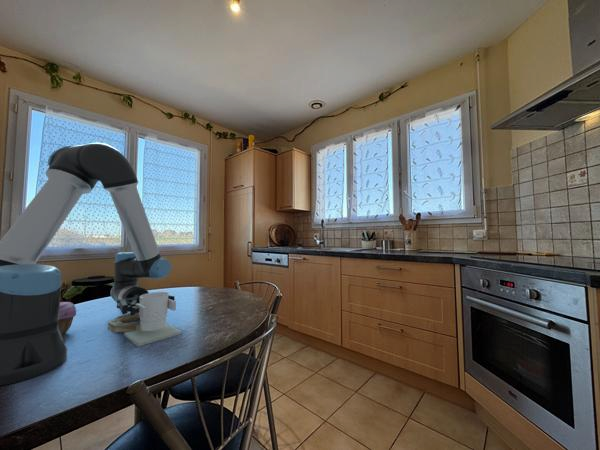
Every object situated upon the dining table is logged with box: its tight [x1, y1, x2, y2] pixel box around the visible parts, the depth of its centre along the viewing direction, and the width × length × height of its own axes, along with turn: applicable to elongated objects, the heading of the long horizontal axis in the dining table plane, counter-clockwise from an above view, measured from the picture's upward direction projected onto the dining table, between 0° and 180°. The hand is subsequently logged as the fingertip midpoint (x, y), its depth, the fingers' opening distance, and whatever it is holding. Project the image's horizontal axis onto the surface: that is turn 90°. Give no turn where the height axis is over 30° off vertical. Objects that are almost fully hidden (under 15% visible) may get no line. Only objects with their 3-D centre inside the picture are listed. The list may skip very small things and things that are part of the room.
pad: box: [123, 322, 182, 348], centre depth 77 cm, size 12×12×1 cm
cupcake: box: [59, 301, 77, 335], centre depth 77 cm, size 9×9×10 cm
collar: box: [107, 313, 141, 333], centre depth 87 cm, size 15×15×2 cm
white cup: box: [139, 291, 170, 331], centre depth 77 cm, size 8×8×10 cm
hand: (160, 308), depth 74 cm, fingers closed on white cup, 8 cm apart
